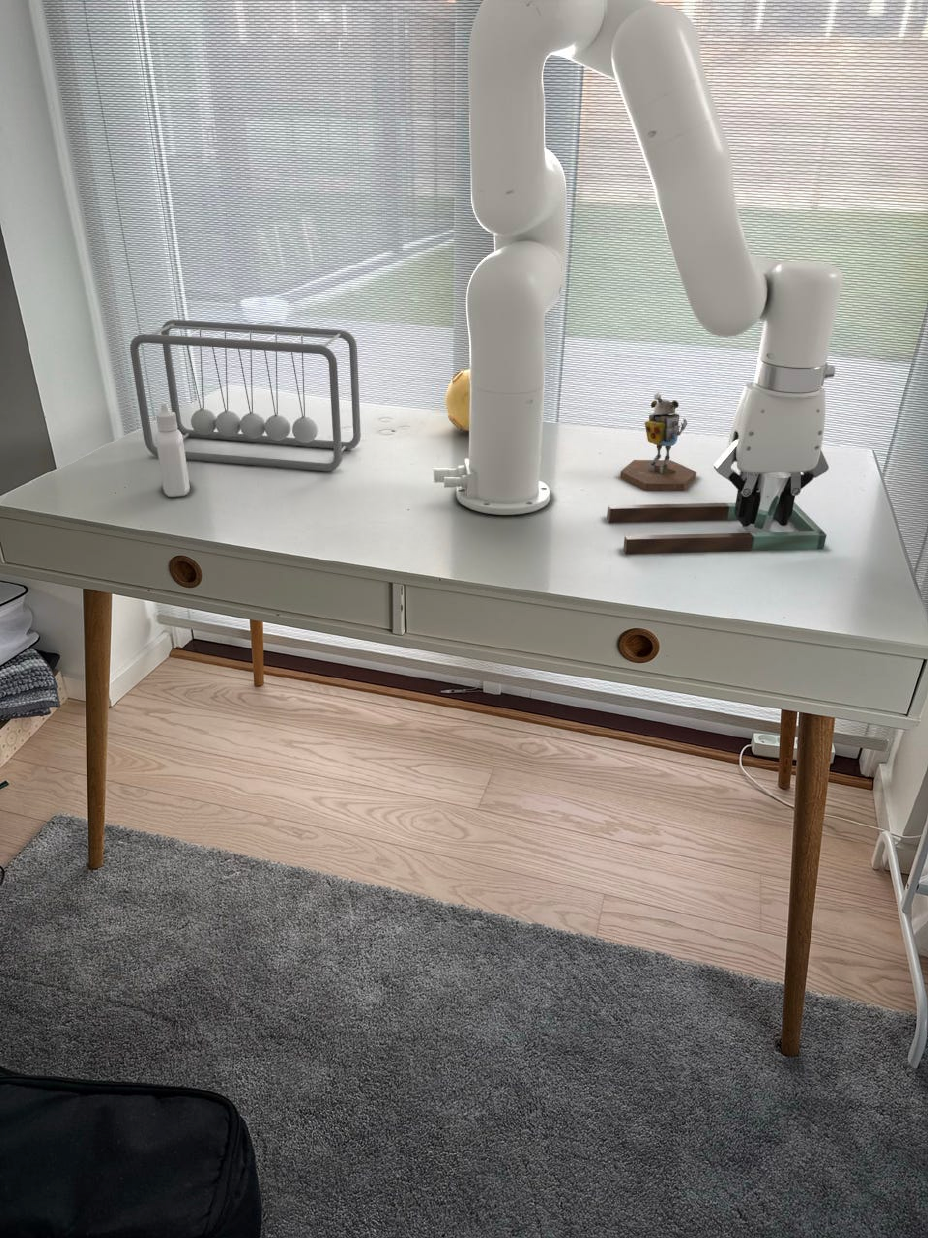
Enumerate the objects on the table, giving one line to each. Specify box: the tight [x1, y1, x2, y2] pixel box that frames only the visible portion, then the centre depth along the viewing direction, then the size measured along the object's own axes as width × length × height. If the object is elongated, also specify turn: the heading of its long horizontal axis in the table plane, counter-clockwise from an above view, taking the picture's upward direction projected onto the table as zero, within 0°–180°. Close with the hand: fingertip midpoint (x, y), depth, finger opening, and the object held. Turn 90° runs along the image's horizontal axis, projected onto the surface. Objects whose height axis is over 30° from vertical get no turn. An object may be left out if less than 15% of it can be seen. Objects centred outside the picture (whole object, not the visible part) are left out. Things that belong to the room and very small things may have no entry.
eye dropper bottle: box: [155, 402, 191, 498], centre depth 126 cm, size 4×6×12 cm
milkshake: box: [741, 472, 791, 533], centre depth 117 cm, size 5×5×10 cm
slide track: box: [606, 501, 827, 555], centre depth 118 cm, size 24×10×2 cm, turn 95°
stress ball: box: [445, 368, 470, 432], centre depth 150 cm, size 10×10×10 cm
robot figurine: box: [619, 392, 697, 492], centre depth 132 cm, size 11×9×12 cm
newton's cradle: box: [129, 319, 362, 472], centre depth 137 cm, size 30×10×18 cm, turn 79°
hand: (761, 520), depth 118 cm, fingers closed on milkshake, 4 cm apart
